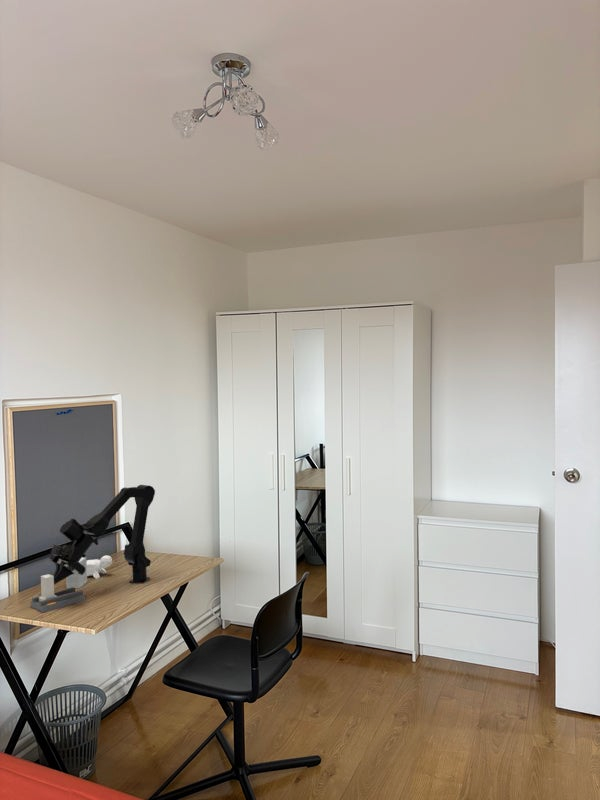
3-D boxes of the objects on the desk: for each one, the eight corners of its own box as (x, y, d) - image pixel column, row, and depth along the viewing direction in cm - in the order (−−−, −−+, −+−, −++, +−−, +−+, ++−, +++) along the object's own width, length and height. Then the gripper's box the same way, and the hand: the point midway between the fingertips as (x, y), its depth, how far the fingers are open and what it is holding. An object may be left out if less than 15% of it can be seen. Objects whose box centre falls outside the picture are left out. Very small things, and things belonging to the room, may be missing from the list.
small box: (74, 582, 253) (73, 557, 253) (87, 582, 253) (86, 557, 253) (65, 588, 245) (65, 562, 245) (79, 588, 245) (78, 562, 245)
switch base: (72, 595, 236) (71, 586, 236) (84, 600, 230) (84, 591, 230) (30, 606, 225) (30, 597, 225) (43, 612, 218) (42, 602, 218)
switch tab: (52, 597, 227) (51, 573, 227) (57, 599, 225) (56, 575, 225) (38, 601, 224) (38, 576, 224) (43, 603, 221) (42, 578, 221)
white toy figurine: (80, 586, 258) (111, 572, 257) (72, 567, 258) (103, 554, 257) (88, 580, 267) (119, 567, 266) (81, 562, 267) (111, 549, 266)
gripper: (53, 532, 236) (25, 567, 228) (76, 539, 223) (48, 576, 215) (73, 549, 242) (46, 583, 233) (97, 556, 229) (70, 593, 221)
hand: (52, 583), depth 226 cm, fingers closed, pressing on switch tab
